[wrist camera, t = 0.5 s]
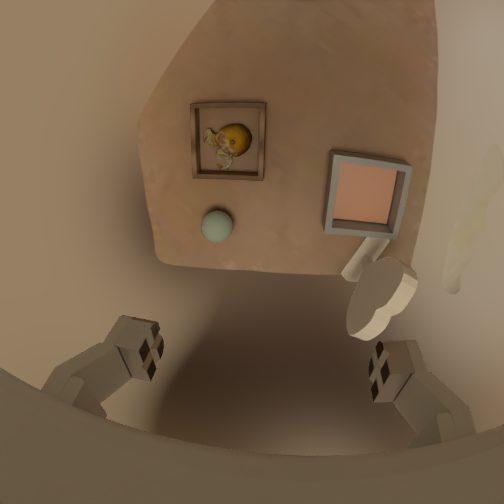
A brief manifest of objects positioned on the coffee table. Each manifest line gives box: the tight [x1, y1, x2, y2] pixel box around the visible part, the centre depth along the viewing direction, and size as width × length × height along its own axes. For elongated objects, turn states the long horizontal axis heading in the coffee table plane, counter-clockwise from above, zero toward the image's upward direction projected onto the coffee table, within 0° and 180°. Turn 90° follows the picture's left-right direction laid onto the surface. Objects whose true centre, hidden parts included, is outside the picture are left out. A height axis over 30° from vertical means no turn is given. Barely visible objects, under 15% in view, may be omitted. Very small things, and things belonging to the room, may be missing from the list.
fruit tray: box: [190, 102, 266, 181], centre depth 48 cm, size 14×13×2 cm
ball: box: [201, 211, 233, 243], centre depth 55 cm, size 6×6×6 cm
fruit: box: [204, 124, 252, 170], centre depth 48 cm, size 8×8×4 cm
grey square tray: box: [322, 150, 413, 240], centre depth 49 cm, size 14×14×4 cm
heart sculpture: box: [341, 237, 418, 340], centre depth 50 cm, size 16×5×18 cm, turn 156°
